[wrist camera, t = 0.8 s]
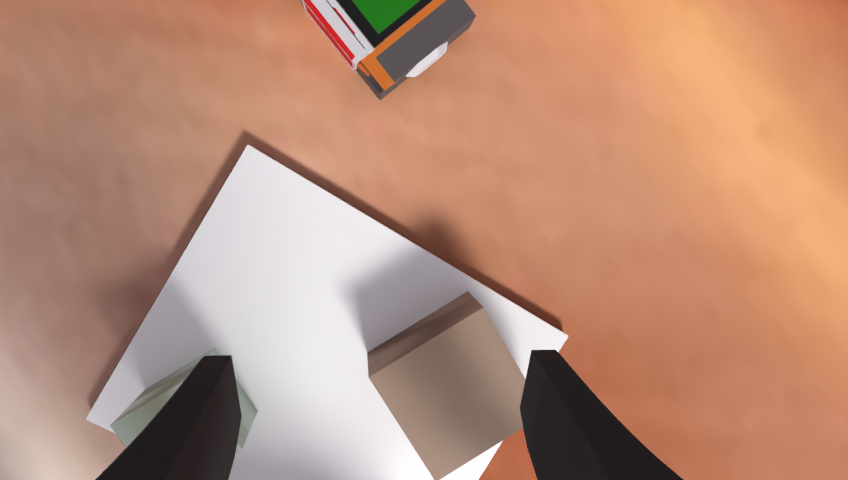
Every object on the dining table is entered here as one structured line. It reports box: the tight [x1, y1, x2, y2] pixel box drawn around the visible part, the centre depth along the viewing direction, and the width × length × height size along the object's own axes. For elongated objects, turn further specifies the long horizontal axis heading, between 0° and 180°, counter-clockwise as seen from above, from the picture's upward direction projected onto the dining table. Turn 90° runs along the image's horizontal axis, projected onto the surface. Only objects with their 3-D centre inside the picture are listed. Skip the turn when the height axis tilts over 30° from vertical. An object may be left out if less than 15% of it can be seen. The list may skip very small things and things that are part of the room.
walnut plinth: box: [367, 291, 525, 480], centre depth 31 cm, size 7×7×4 cm
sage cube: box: [110, 348, 258, 453], centre depth 29 cm, size 4×4×4 cm
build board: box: [85, 145, 568, 480], centre depth 33 cm, size 18×22×1 cm
